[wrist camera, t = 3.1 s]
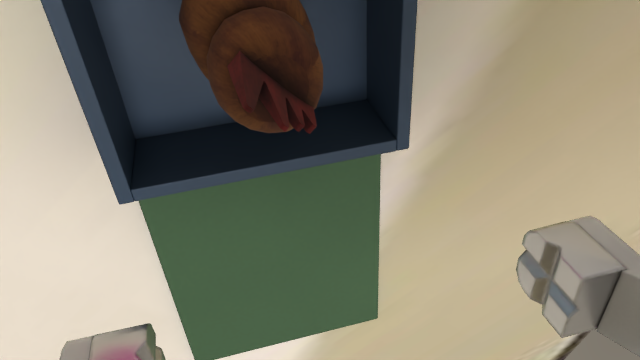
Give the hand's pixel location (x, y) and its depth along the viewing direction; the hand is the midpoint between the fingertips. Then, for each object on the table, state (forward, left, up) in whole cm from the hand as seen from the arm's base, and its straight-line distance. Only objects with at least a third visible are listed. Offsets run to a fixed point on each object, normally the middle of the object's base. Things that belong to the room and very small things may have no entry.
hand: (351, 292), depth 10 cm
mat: (0, +20, -22) cm, 30 cm away
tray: (0, 0, -22) cm, 22 cm away
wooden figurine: (0, 0, -22) cm, 22 cm away
